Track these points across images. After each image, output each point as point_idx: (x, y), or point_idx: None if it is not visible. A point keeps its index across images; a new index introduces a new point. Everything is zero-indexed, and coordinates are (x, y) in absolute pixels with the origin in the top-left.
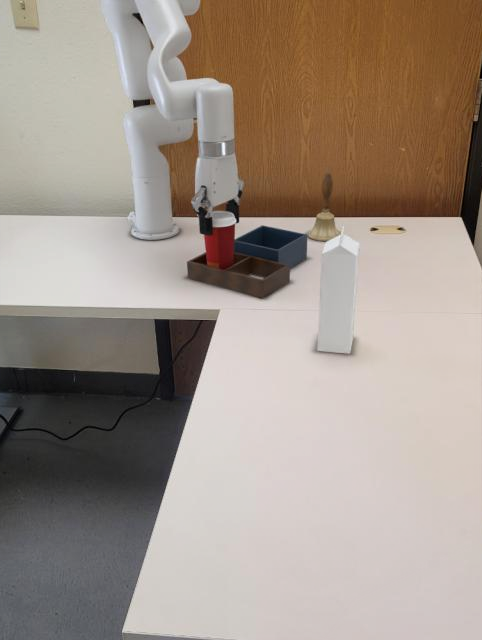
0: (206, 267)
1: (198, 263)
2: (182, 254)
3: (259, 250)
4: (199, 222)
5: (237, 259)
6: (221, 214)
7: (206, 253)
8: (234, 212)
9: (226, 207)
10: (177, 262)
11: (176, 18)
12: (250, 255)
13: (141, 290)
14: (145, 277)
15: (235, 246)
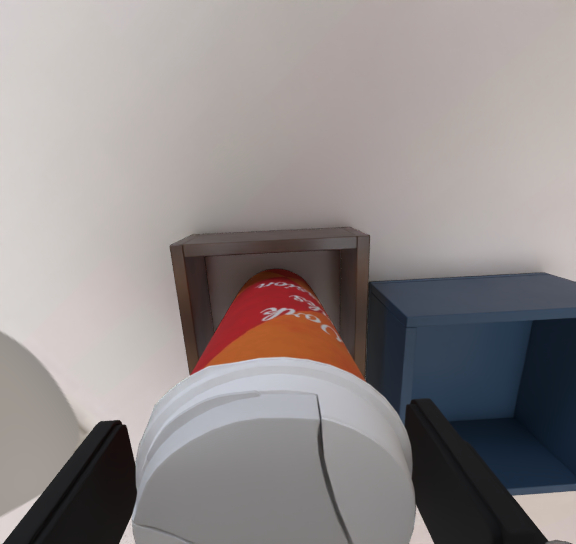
0: (184, 339)
1: (186, 297)
2: (363, 40)
3: None
4: (41, 499)
5: (349, 339)
6: (315, 529)
7: (222, 319)
8: (442, 536)
9: (473, 507)
10: (281, 89)
11: None
12: (383, 374)
13: (2, 169)
14: (88, 88)
15: (395, 324)
